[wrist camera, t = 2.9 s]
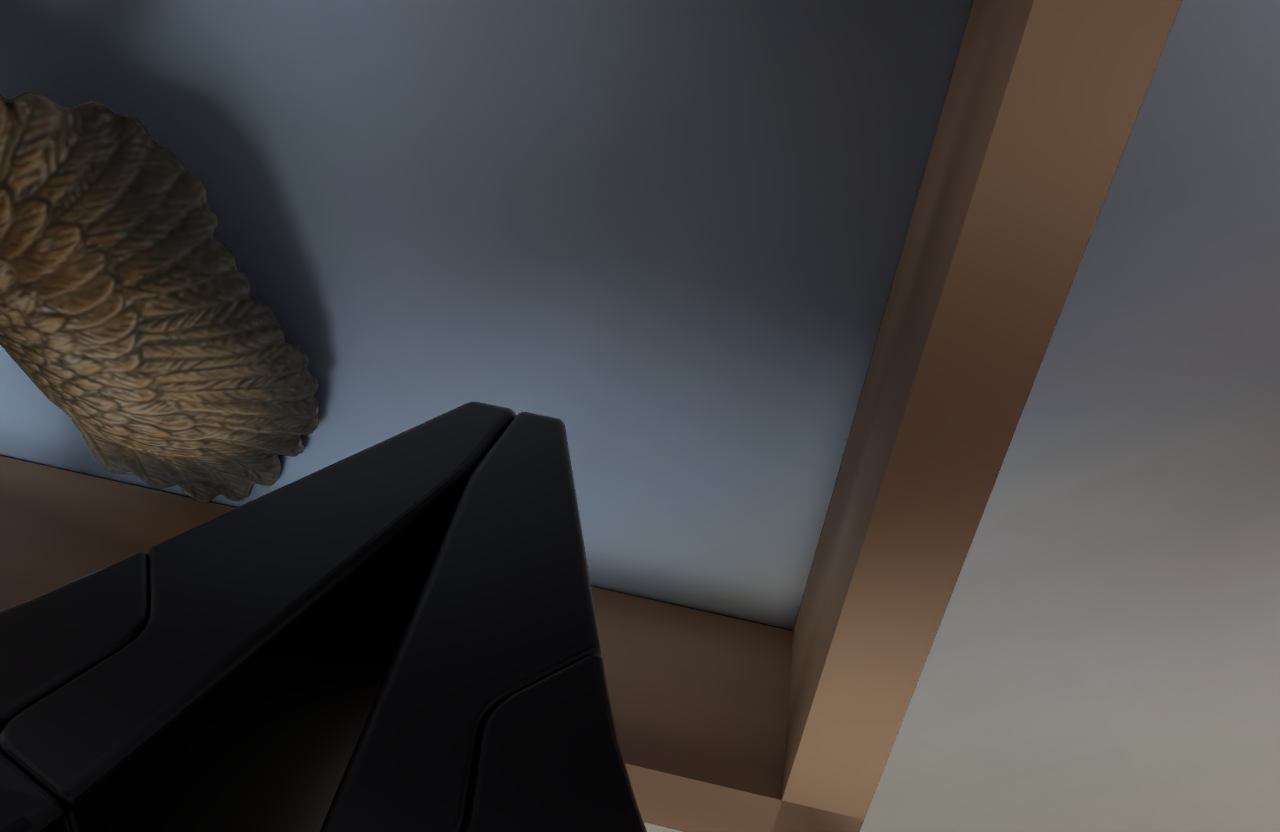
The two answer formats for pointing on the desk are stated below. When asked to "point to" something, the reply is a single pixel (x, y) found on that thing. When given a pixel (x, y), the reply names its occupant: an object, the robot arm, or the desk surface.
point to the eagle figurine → (139, 306)
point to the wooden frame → (871, 466)
